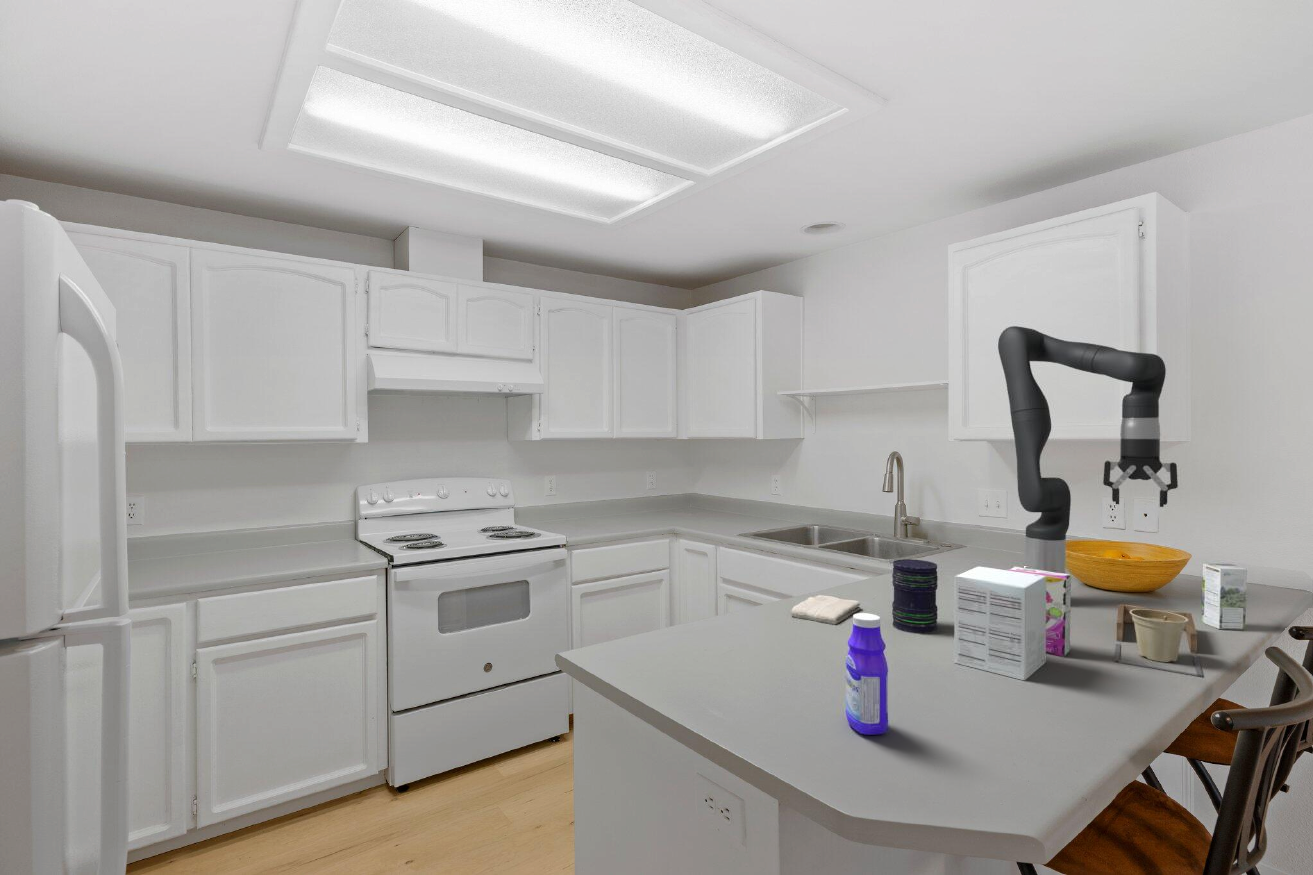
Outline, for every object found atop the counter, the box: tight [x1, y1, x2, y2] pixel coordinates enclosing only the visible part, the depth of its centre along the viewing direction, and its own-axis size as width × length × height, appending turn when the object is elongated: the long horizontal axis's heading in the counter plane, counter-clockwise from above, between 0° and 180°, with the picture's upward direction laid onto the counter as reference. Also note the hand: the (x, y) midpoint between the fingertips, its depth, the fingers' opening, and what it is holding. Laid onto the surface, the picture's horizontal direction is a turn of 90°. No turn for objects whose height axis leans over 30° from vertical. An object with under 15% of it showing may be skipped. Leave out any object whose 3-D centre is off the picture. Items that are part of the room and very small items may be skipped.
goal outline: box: [1113, 643, 1204, 678], centre depth 130 cm, size 14×13×1 cm
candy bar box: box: [1006, 566, 1072, 658], centre depth 137 cm, size 11×5×16 cm, turn 47°
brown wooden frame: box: [1116, 603, 1198, 654], centre depth 145 cm, size 14×18×4 cm
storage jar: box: [891, 558, 939, 635], centre depth 152 cm, size 10×10×15 cm
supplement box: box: [953, 565, 1047, 681], centre depth 129 cm, size 13×13×18 cm
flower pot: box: [1130, 609, 1188, 663], centre depth 132 cm, size 9×9×9 cm
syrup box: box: [1200, 562, 1248, 631], centre depth 152 cm, size 6×6×14 cm
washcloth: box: [790, 594, 861, 625], centre depth 164 cm, size 12×18×3 cm, turn 144°
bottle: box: [845, 612, 889, 736], centre depth 101 cm, size 7×6×17 cm
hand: (1139, 505), depth 154 cm, fingers open, 8 cm apart
